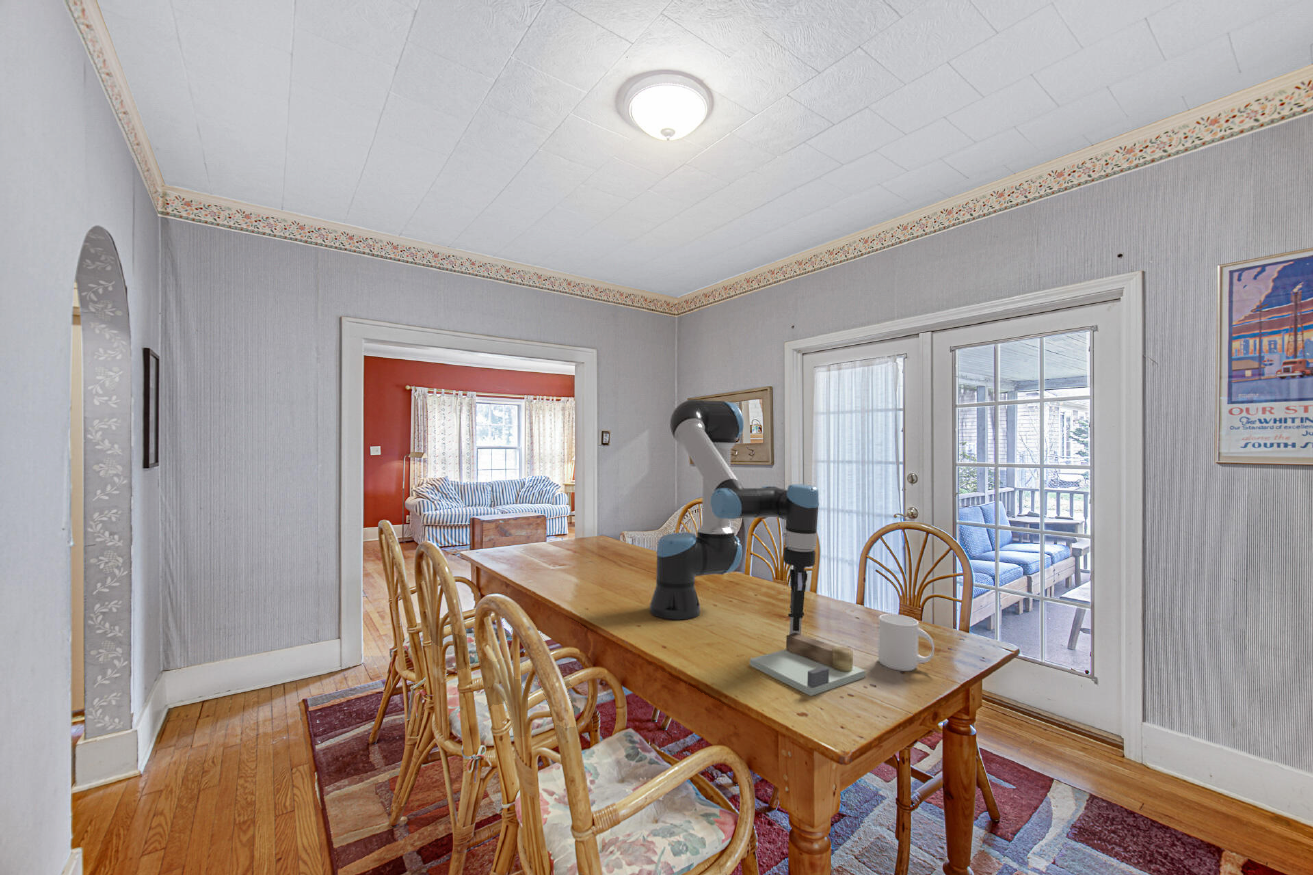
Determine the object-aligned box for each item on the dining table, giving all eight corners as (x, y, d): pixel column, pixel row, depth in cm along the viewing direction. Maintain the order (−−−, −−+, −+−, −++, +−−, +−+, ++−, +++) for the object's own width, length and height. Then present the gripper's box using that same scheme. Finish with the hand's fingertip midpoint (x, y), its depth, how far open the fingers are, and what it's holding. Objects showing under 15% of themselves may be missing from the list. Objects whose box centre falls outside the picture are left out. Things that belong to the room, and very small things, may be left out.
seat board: (749, 665, 128) (749, 658, 128) (802, 650, 138) (802, 644, 138) (810, 695, 113) (811, 688, 113) (865, 677, 123) (865, 670, 123)
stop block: (807, 685, 115) (807, 671, 115) (823, 680, 117) (823, 666, 117) (812, 688, 114) (813, 673, 114) (828, 682, 116) (828, 668, 116)
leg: (785, 650, 133) (785, 634, 133) (795, 646, 136) (796, 630, 136) (845, 672, 121) (846, 655, 121) (856, 667, 124) (856, 651, 124)
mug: (932, 678, 123) (933, 630, 124) (875, 666, 130) (876, 620, 130) (935, 665, 131) (936, 620, 131) (881, 654, 137) (882, 611, 137)
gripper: (783, 541, 142) (778, 630, 143) (785, 552, 130) (780, 650, 131) (813, 543, 141) (808, 634, 142) (818, 555, 129) (812, 654, 130)
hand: (794, 642), depth 136 cm, fingers closed
